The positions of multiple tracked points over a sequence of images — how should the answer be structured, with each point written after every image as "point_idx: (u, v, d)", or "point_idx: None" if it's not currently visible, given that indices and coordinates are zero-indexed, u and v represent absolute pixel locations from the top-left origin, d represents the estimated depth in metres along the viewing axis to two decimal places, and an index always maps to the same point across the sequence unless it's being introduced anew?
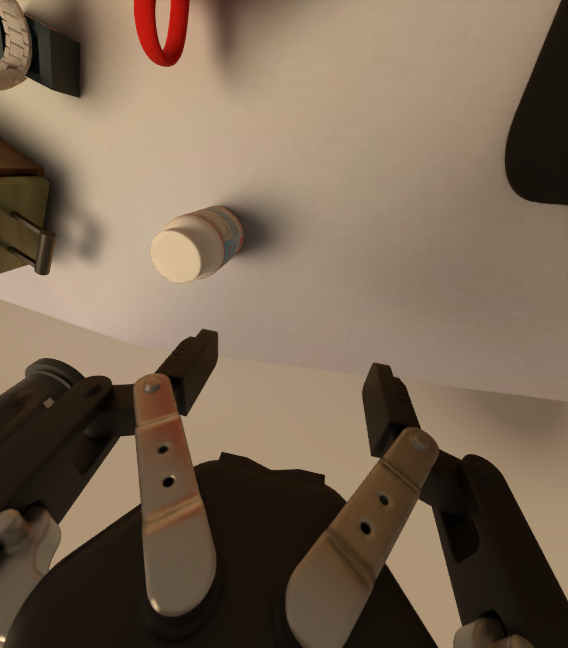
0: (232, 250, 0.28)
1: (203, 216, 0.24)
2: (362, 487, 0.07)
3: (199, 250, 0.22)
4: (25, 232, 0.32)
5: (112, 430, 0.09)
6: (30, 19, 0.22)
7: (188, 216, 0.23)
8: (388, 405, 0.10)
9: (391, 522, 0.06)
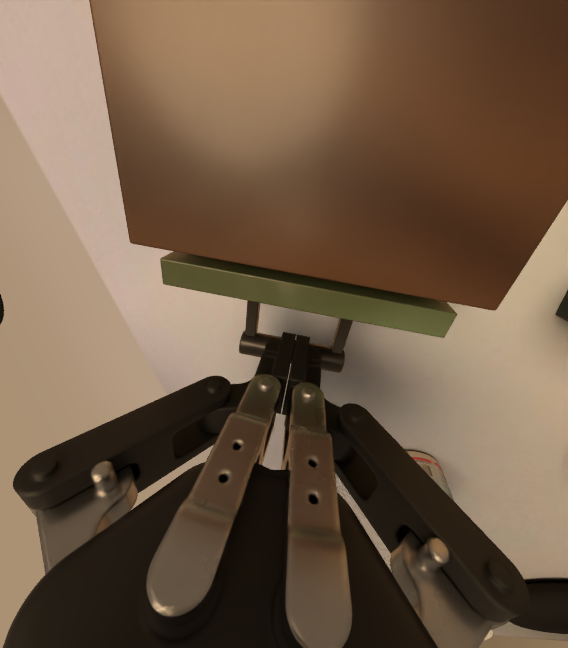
0: None
1: None
2: (293, 466, 0.07)
3: None
4: None
5: None
6: None
7: None
8: (293, 367, 0.11)
9: (326, 476, 0.07)
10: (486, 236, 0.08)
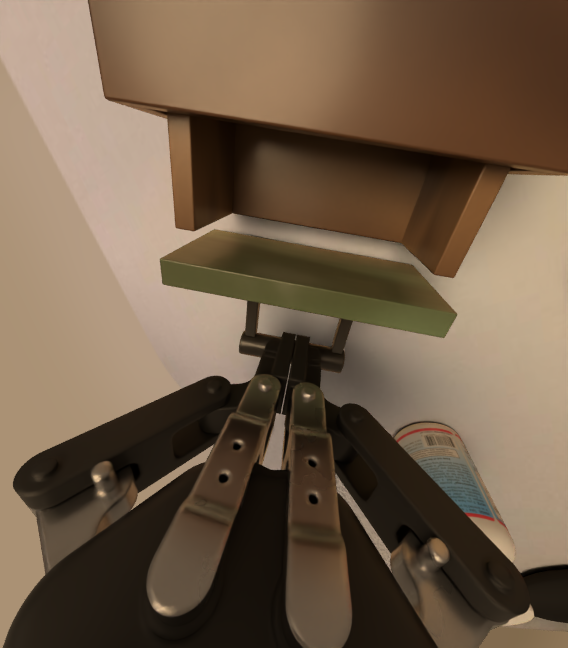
0: None
1: None
2: (293, 466, 0.07)
3: None
4: None
5: None
6: None
7: (514, 546, 0.17)
8: (293, 366, 0.11)
9: (326, 476, 0.07)
10: None
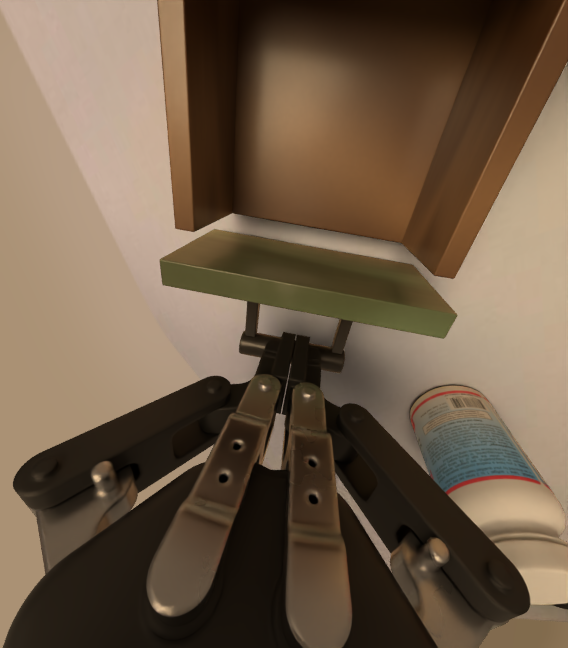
0: None
1: None
2: (293, 466, 0.07)
3: (555, 600, 0.14)
4: None
5: None
6: None
7: None
8: (293, 366, 0.11)
9: (326, 476, 0.07)
10: None
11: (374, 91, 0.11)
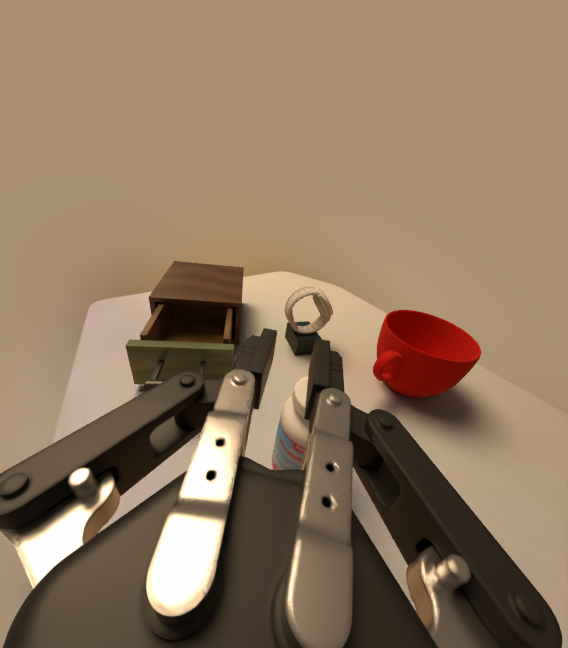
0: None
1: None
2: (310, 466, 0.07)
3: None
4: (179, 372, 0.33)
5: (203, 421, 0.10)
6: (316, 333, 0.46)
7: None
8: (316, 371, 0.11)
9: (342, 483, 0.07)
10: (231, 295, 0.42)
11: (204, 341, 0.41)
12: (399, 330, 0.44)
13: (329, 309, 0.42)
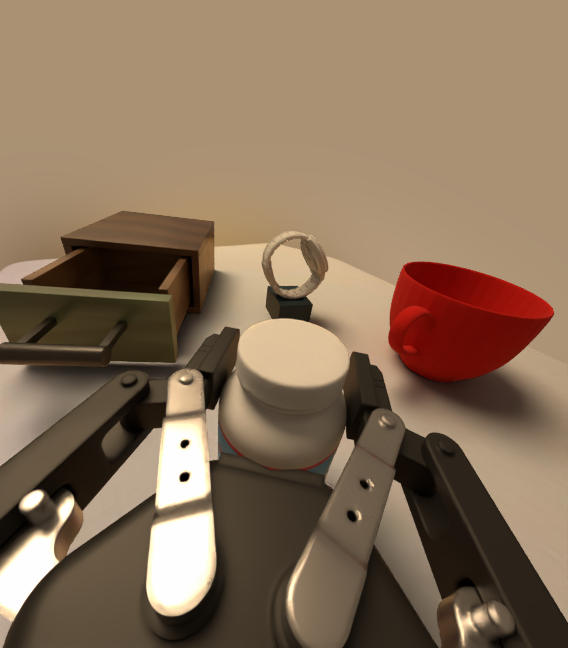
0: None
1: None
2: (343, 476, 0.07)
3: (347, 373, 0.10)
4: (87, 339, 0.21)
5: (148, 422, 0.10)
6: (306, 298, 0.34)
7: None
8: (362, 389, 0.11)
9: (374, 504, 0.06)
10: (187, 242, 0.30)
11: None
12: None
13: (323, 260, 0.30)
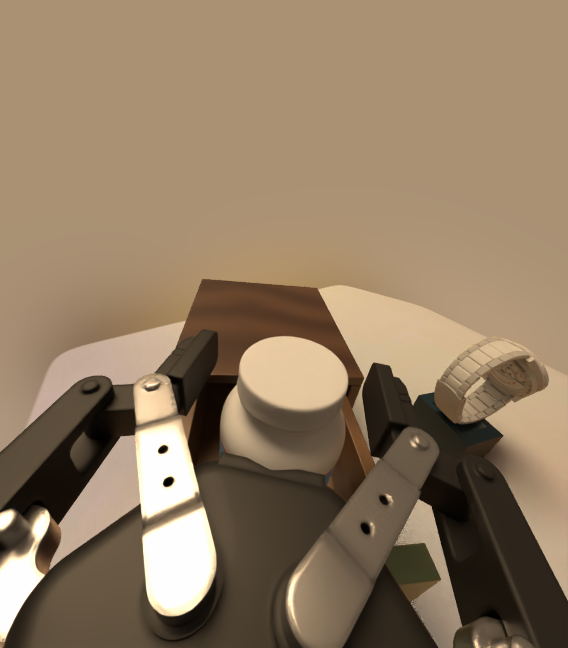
0: None
1: None
2: (362, 487, 0.07)
3: (345, 393, 0.10)
4: None
5: (112, 430, 0.09)
6: (485, 420, 0.24)
7: None
8: (388, 405, 0.10)
9: (391, 522, 0.06)
10: None
11: None
12: None
13: (542, 385, 0.20)
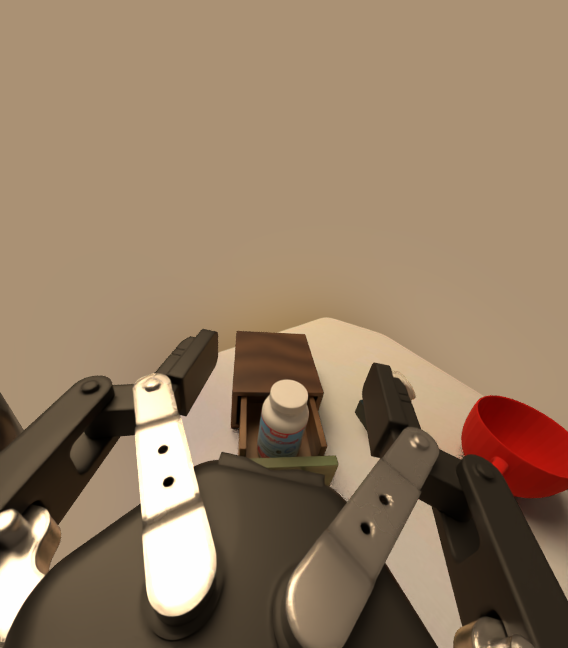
0: (292, 446, 0.33)
1: None
2: (362, 487, 0.07)
3: (306, 402, 0.31)
4: None
5: (112, 430, 0.09)
6: None
7: None
8: (388, 405, 0.10)
9: (391, 522, 0.06)
10: (310, 381, 0.41)
11: None
12: (481, 413, 0.42)
13: (412, 396, 0.40)
